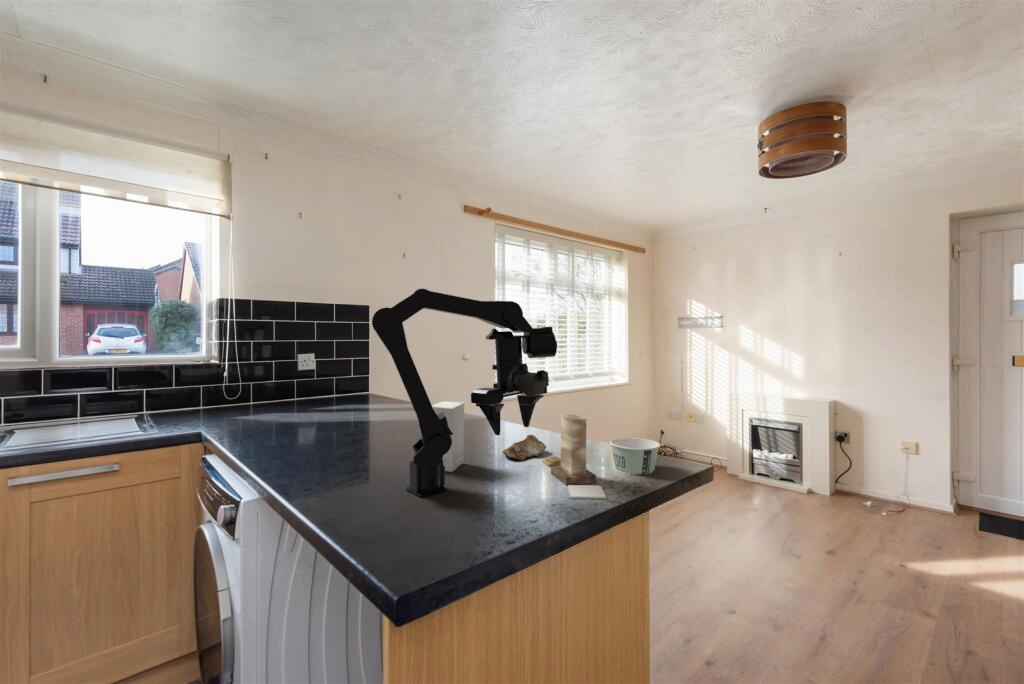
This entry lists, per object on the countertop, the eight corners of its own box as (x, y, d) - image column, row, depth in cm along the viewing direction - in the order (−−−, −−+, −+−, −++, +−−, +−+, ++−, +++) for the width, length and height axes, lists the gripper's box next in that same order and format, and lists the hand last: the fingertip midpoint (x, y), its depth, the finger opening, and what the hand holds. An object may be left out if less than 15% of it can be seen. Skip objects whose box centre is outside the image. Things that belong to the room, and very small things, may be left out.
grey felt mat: (571, 498, 93) (571, 496, 93) (567, 487, 100) (567, 485, 100) (606, 498, 93) (606, 496, 93) (600, 487, 100) (600, 485, 100)
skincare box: (441, 461, 120) (441, 400, 119) (465, 463, 118) (466, 402, 118) (427, 470, 112) (427, 405, 111) (453, 472, 110) (453, 406, 110)
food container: (671, 472, 112) (671, 445, 112) (633, 479, 106) (634, 450, 106) (635, 460, 122) (635, 435, 122) (599, 466, 116) (599, 440, 116)
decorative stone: (552, 435, 130) (524, 452, 117) (553, 450, 130) (525, 469, 118) (523, 430, 135) (493, 446, 123) (524, 445, 136) (494, 462, 123)
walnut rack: (566, 485, 101) (566, 478, 101) (551, 473, 110) (551, 466, 110) (596, 482, 103) (596, 475, 103) (579, 471, 112) (579, 464, 112)
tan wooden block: (571, 482, 103) (571, 419, 103) (560, 474, 109) (561, 415, 109) (585, 481, 104) (586, 419, 104) (574, 473, 110) (575, 414, 110)
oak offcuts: (549, 466, 116) (549, 461, 116) (542, 461, 120) (542, 456, 120) (565, 465, 117) (565, 460, 117) (557, 460, 121) (557, 455, 121)
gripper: (506, 364, 89) (509, 445, 89) (564, 356, 103) (567, 427, 103) (467, 363, 97) (471, 437, 97) (526, 356, 110) (529, 421, 111)
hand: (512, 430), depth 102 cm, fingers open, 9 cm apart
